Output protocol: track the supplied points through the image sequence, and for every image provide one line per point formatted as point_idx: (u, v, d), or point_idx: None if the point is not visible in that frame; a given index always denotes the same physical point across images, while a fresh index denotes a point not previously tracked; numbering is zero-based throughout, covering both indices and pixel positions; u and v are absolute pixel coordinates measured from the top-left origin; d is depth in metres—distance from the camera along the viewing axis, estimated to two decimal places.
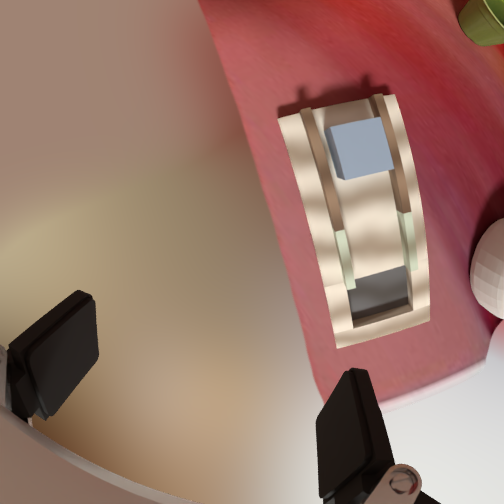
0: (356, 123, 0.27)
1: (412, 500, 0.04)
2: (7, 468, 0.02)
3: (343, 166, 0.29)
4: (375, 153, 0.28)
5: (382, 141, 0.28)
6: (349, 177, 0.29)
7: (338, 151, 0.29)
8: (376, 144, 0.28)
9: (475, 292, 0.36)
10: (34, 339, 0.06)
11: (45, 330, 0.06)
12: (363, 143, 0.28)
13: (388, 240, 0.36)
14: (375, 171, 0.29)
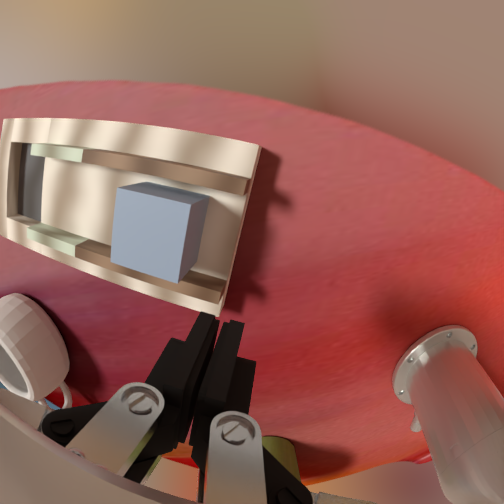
0: (180, 245, 0.20)
1: (260, 444, 0.06)
2: (7, 468, 0.02)
3: (133, 193, 0.19)
4: (134, 247, 0.20)
5: (145, 266, 0.21)
6: (118, 195, 0.19)
7: (154, 197, 0.19)
8: (144, 255, 0.21)
9: (9, 296, 0.31)
10: (190, 371, 0.07)
11: (194, 359, 0.08)
12: (151, 238, 0.20)
13: (64, 213, 0.26)
14: (113, 234, 0.20)
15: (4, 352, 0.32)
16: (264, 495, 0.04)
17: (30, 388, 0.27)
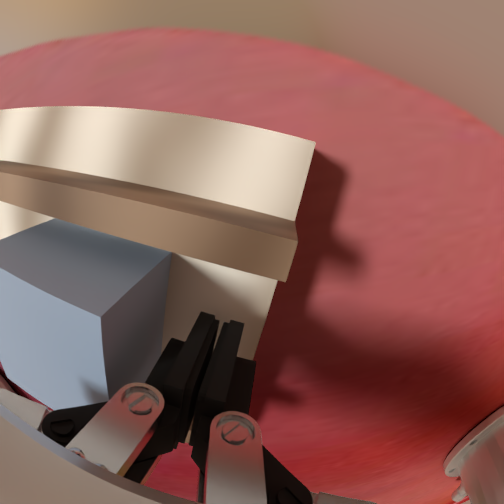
0: (101, 393, 0.07)
1: (259, 444, 0.06)
2: (7, 468, 0.02)
3: None
4: (28, 371, 0.07)
5: (54, 404, 0.08)
6: None
7: (25, 285, 0.06)
8: (46, 388, 0.08)
9: None
10: (190, 371, 0.07)
11: (194, 359, 0.08)
12: (47, 366, 0.07)
13: None
14: None
15: None
16: (264, 495, 0.04)
17: None
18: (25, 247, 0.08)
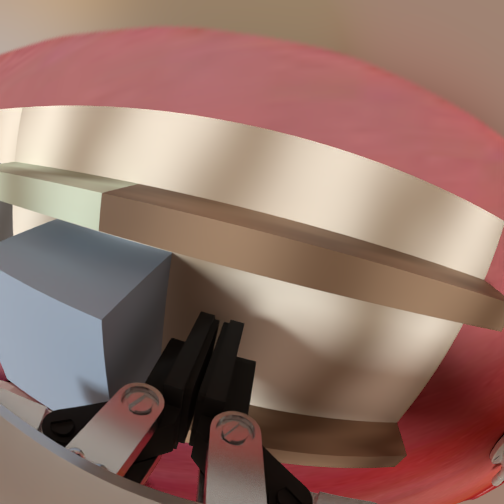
0: (102, 395, 0.07)
1: (259, 444, 0.06)
2: (7, 468, 0.02)
3: None
4: (29, 373, 0.07)
5: (55, 406, 0.08)
6: None
7: (26, 287, 0.06)
8: (47, 390, 0.08)
9: None
10: (190, 371, 0.07)
11: (194, 359, 0.08)
12: (47, 368, 0.07)
13: None
14: None
15: None
16: (264, 495, 0.04)
17: None
18: (25, 249, 0.08)
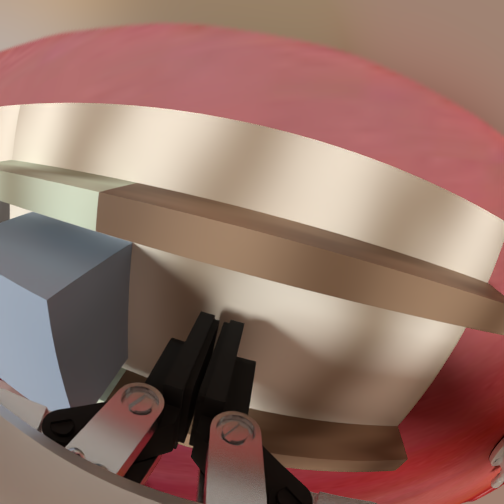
0: (56, 377, 0.07)
1: (259, 444, 0.06)
2: (7, 468, 0.02)
3: None
4: None
5: (23, 390, 0.08)
6: None
7: None
8: (14, 373, 0.07)
9: None
10: (190, 371, 0.07)
11: (194, 359, 0.08)
12: (12, 350, 0.07)
13: None
14: None
15: None
16: (264, 495, 0.04)
17: None
18: None
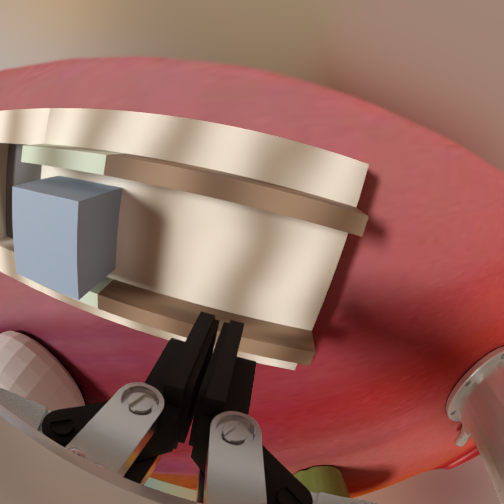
0: (73, 253, 0.14)
1: (259, 444, 0.06)
2: (7, 468, 0.02)
3: (25, 192, 0.13)
4: (33, 257, 0.14)
5: (45, 279, 0.15)
6: (13, 195, 0.13)
7: (43, 195, 0.13)
8: (42, 266, 0.14)
9: (5, 337, 0.24)
10: (190, 371, 0.07)
11: (194, 359, 0.08)
12: (46, 245, 0.14)
13: None
14: (14, 242, 0.14)
15: None
16: (264, 495, 0.04)
17: None
18: (42, 184, 0.14)
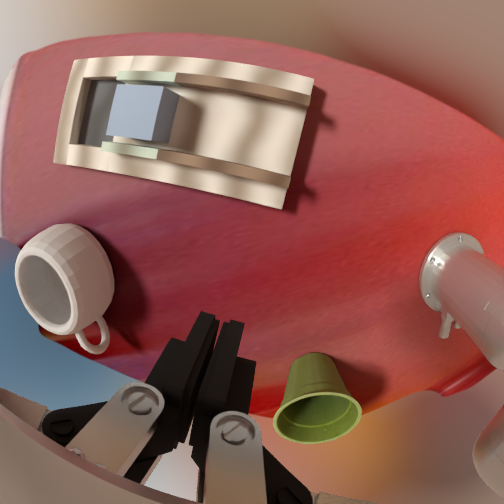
0: (155, 112, 0.26)
1: (259, 444, 0.06)
2: (7, 468, 0.02)
3: (127, 85, 0.25)
4: (124, 120, 0.27)
5: (129, 132, 0.27)
6: (117, 88, 0.25)
7: (140, 85, 0.25)
8: (130, 124, 0.27)
9: (57, 224, 0.36)
10: (190, 371, 0.07)
11: (194, 359, 0.08)
12: (136, 111, 0.26)
13: None
14: (111, 115, 0.26)
15: (38, 290, 0.38)
16: (264, 495, 0.04)
17: (75, 310, 0.32)
18: None
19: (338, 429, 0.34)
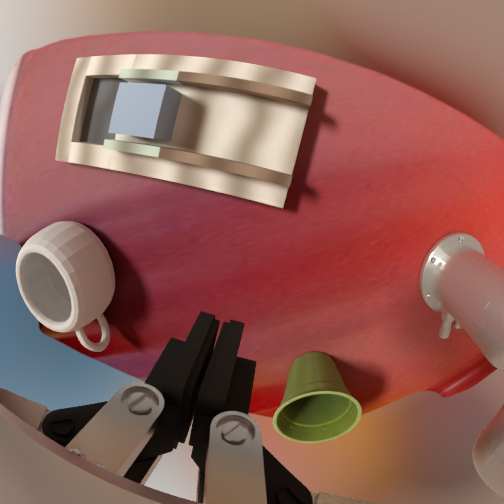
0: (157, 111, 0.26)
1: (259, 444, 0.06)
2: (7, 468, 0.02)
3: (130, 83, 0.25)
4: (126, 118, 0.27)
5: (132, 130, 0.27)
6: (120, 86, 0.26)
7: (143, 84, 0.25)
8: (132, 122, 0.27)
9: (59, 222, 0.37)
10: (190, 371, 0.07)
11: (194, 359, 0.08)
12: (139, 110, 0.26)
13: None
14: (113, 112, 0.27)
15: (39, 288, 0.38)
16: (264, 495, 0.04)
17: (75, 308, 0.33)
18: None
19: (338, 428, 0.34)
